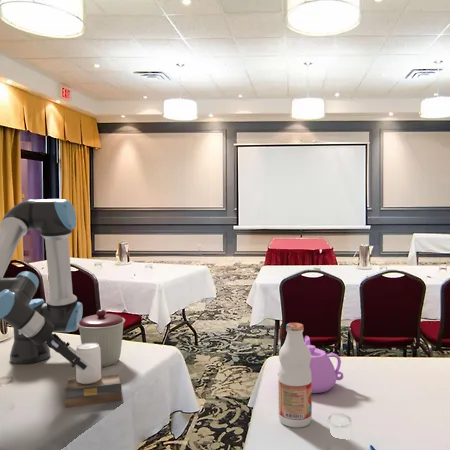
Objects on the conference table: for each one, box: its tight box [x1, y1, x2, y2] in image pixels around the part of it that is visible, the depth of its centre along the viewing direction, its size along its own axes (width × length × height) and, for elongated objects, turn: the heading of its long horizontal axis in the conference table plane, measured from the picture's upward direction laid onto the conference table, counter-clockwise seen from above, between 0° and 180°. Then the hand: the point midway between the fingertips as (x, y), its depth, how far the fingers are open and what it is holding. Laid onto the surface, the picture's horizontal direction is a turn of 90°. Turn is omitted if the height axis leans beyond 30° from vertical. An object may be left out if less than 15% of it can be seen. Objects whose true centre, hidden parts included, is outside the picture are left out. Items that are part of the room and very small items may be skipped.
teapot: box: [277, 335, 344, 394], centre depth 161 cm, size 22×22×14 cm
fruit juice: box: [277, 322, 313, 429], centre depth 134 cm, size 9×9×28 cm
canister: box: [77, 309, 126, 368], centre depth 183 cm, size 18×18×21 cm
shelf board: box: [64, 373, 123, 408], centre depth 155 cm, size 16×17×6 cm
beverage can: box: [75, 343, 102, 384], centre depth 159 cm, size 8×8×12 cm
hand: (86, 366), depth 155 cm, fingers open, 13 cm apart
